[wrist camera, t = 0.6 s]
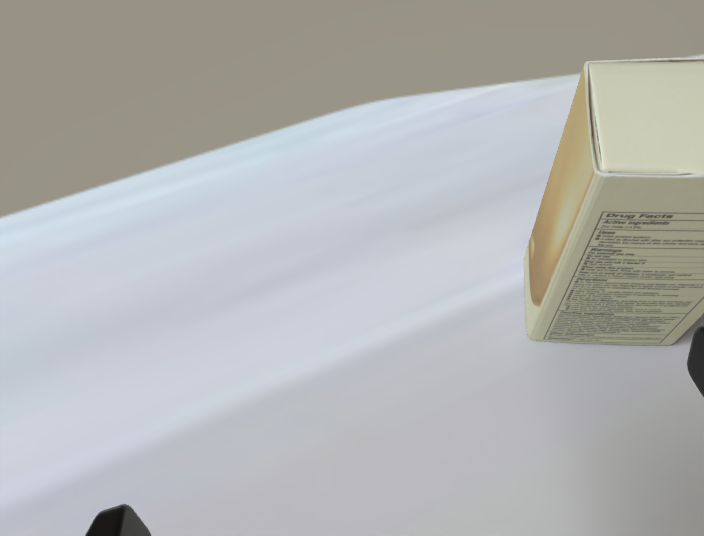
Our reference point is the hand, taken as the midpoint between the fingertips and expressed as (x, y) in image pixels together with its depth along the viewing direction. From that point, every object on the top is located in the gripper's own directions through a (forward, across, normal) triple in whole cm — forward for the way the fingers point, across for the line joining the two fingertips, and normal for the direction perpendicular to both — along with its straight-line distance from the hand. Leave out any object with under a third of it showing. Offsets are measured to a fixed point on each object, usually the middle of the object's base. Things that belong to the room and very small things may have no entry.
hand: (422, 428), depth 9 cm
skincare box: (+13, -11, +12) cm, 20 cm away
